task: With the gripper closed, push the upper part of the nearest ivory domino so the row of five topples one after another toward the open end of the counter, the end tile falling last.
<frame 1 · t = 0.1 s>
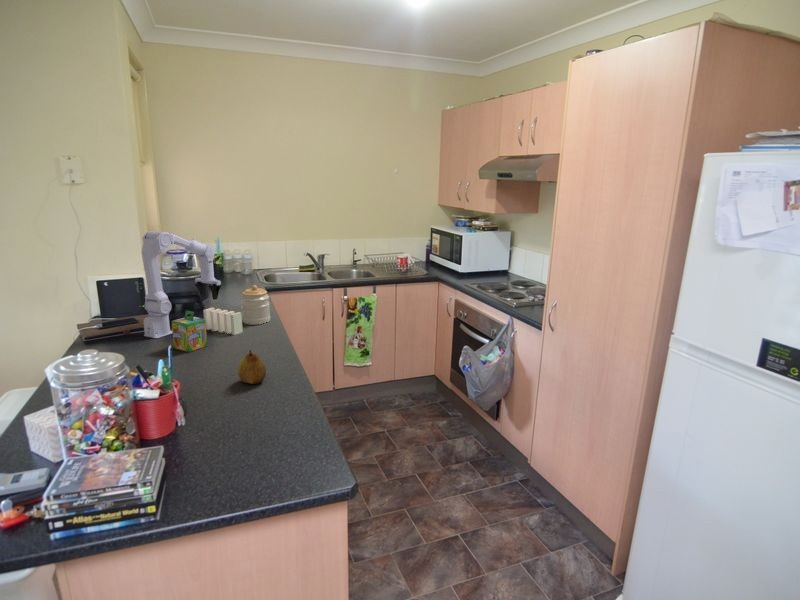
hand: (209, 298, 224), 10 cm above the worktop, tool pointing down, fingers open, 7 cm apart
domino 2: (217, 329, 209), on the worktop
chalk box: (191, 348, 186), on the worktop
jar: (256, 321, 223), on the worktop
domino 1: (210, 328, 211), on the worktop
domino 3: (223, 330, 208), on the worktop
domino 4: (230, 332, 206), on the worktop
fruit: (252, 382, 155), on the worktop
domino 5: (237, 333, 204), on the worktop
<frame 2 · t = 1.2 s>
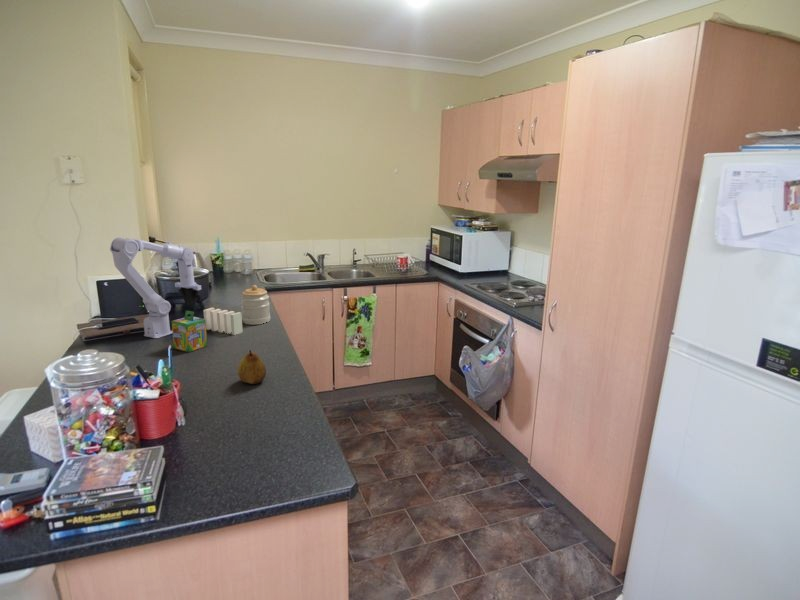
hand: (190, 304, 211), 10 cm above the worktop, tool pointing down, fingers closed
nothing on the worktop moved.
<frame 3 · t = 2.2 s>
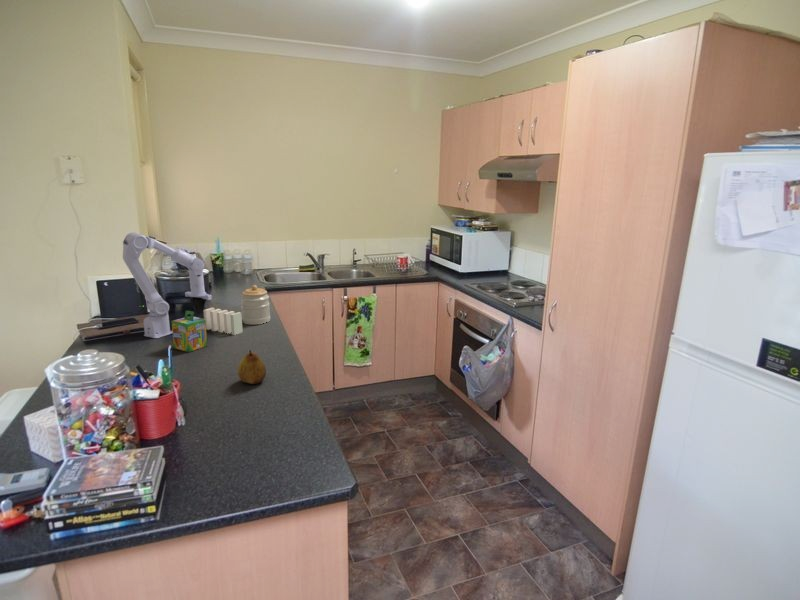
hand: (199, 313, 212), 6 cm above the worktop, tool pointing down, fingers closed
nothing on the worktop moved.
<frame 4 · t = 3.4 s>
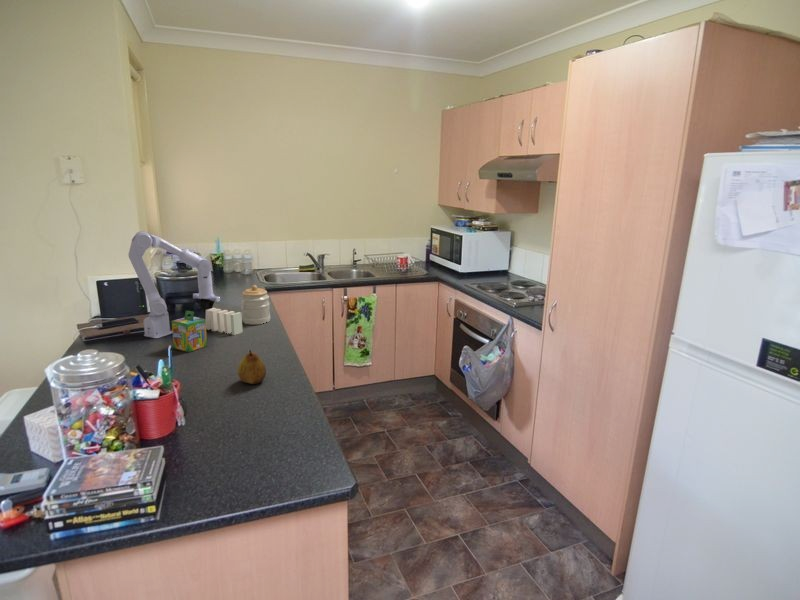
hand: (208, 315, 210), 6 cm above the worktop, tool pointing down, fingers closed
domino 1: (210, 327, 211), on the worktop, tilted 9°
everything else where it was.
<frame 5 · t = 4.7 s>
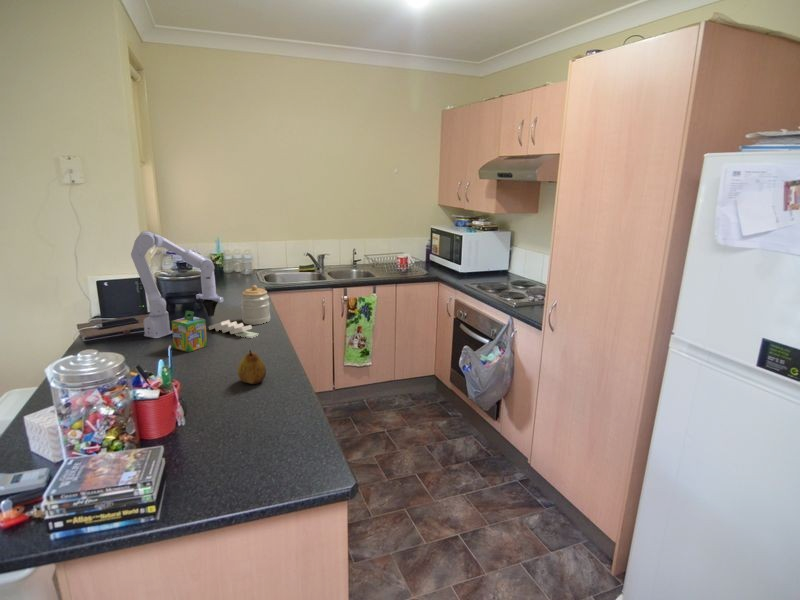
hand: (211, 315, 209), 6 cm above the worktop, tool pointing down, fingers closed
domino 2: (220, 328, 208), point 1 cm above the worktop, tilted 68°, touching domino 1, domino 3
domino 1: (213, 327, 210), point 1 cm above the worktop, tilted 68°, touching domino 2
domino 3: (226, 329, 206), point 1 cm above the worktop, tilted 68°, touching domino 2, domino 4
domino 4: (234, 331, 204), point 1 cm above the worktop, tilted 71°, touching domino 3
domino 5: (239, 333, 204), on the worktop, tilted 90°
everything else where it was.
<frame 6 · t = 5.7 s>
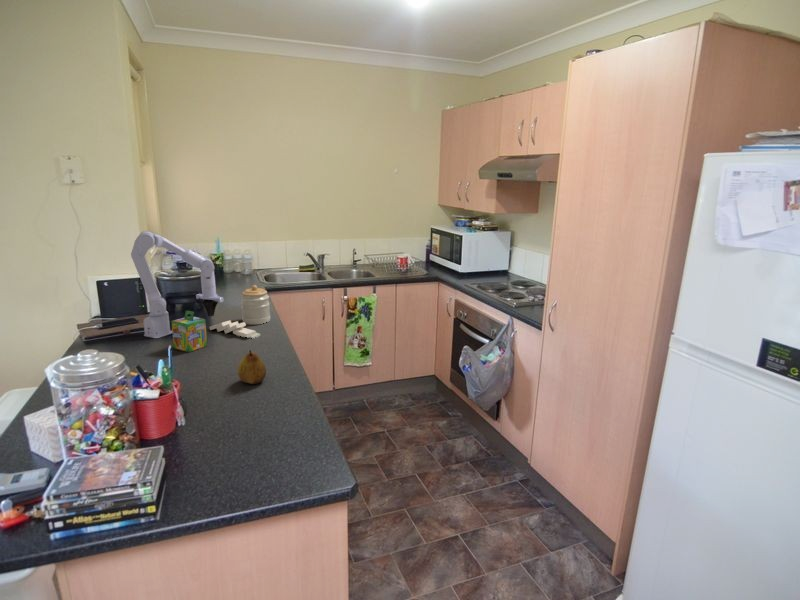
hand: (211, 315, 209), 6 cm above the worktop, tool pointing down, fingers closed
domino 2: (221, 328, 208), point 1 cm above the worktop, tilted 67°, touching domino 1
domino 3: (229, 330, 206), point 1 cm above the worktop, tilted 64°, touching domino 4
domino 4: (237, 330, 203), point 2 cm above the worktop, tilted 90°, touching domino 3, domino 5
domino 5: (240, 334, 203), on the worktop, tilted 90°, touching domino 4
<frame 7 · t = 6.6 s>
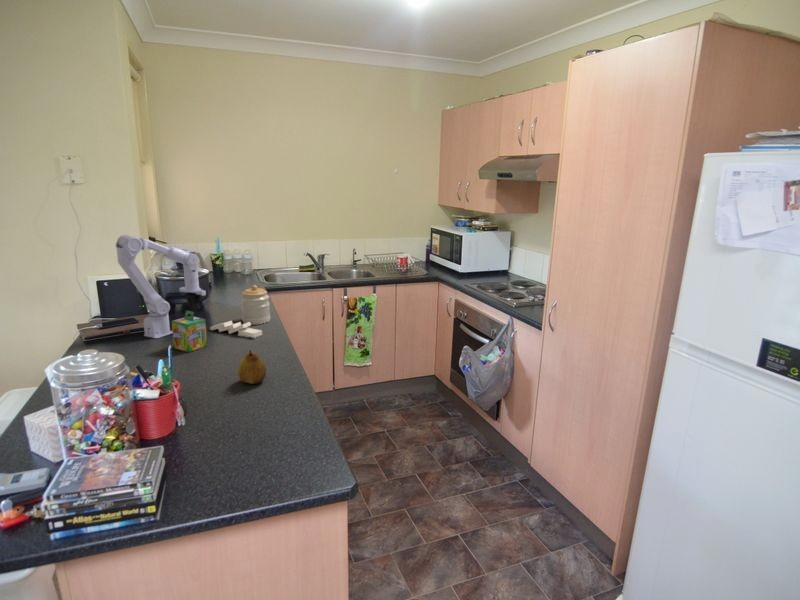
hand: (194, 309, 211), 8 cm above the worktop, tool pointing down, fingers closed
domino 2: (222, 328, 208), point 1 cm above the worktop, tilted 71°, touching domino 1, domino 3
domino 3: (232, 330, 205), point 1 cm above the worktop, tilted 65°, touching domino 2, domino 4
domino 4: (242, 330, 203), point 2 cm above the worktop, tilted 90°, touching domino 3, domino 5
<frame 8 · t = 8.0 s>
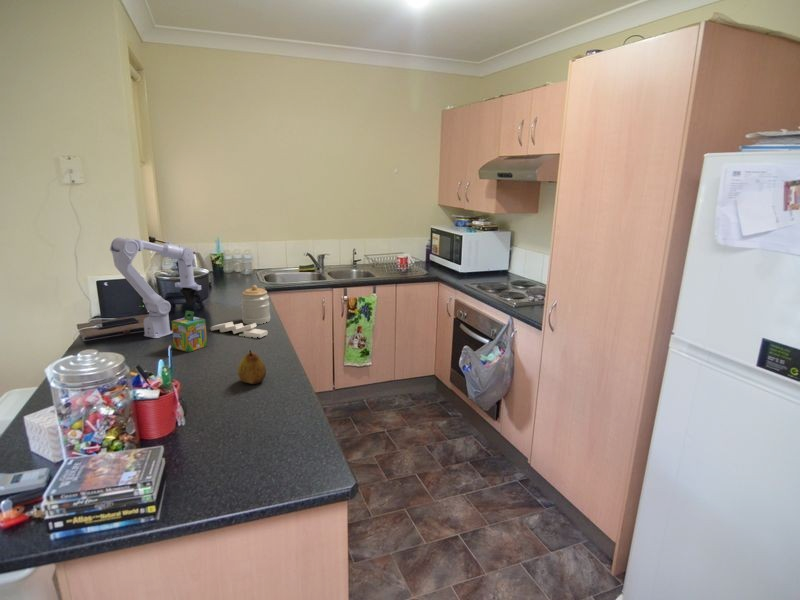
hand: (190, 304, 211), 10 cm above the worktop, tool pointing down, fingers closed
domino 2: (223, 329, 207), point 1 cm above the worktop, tilted 73°, touching domino 1
domino 3: (235, 330, 205), point 1 cm above the worktop, tilted 71°, touching domino 4
domino 4: (247, 331, 203), point 1 cm above the worktop, tilted 90°, touching domino 3, domino 5
at the end: domino 5 tilted 90°; domino 1 tilted 74°; the gripper is holding nothing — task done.
